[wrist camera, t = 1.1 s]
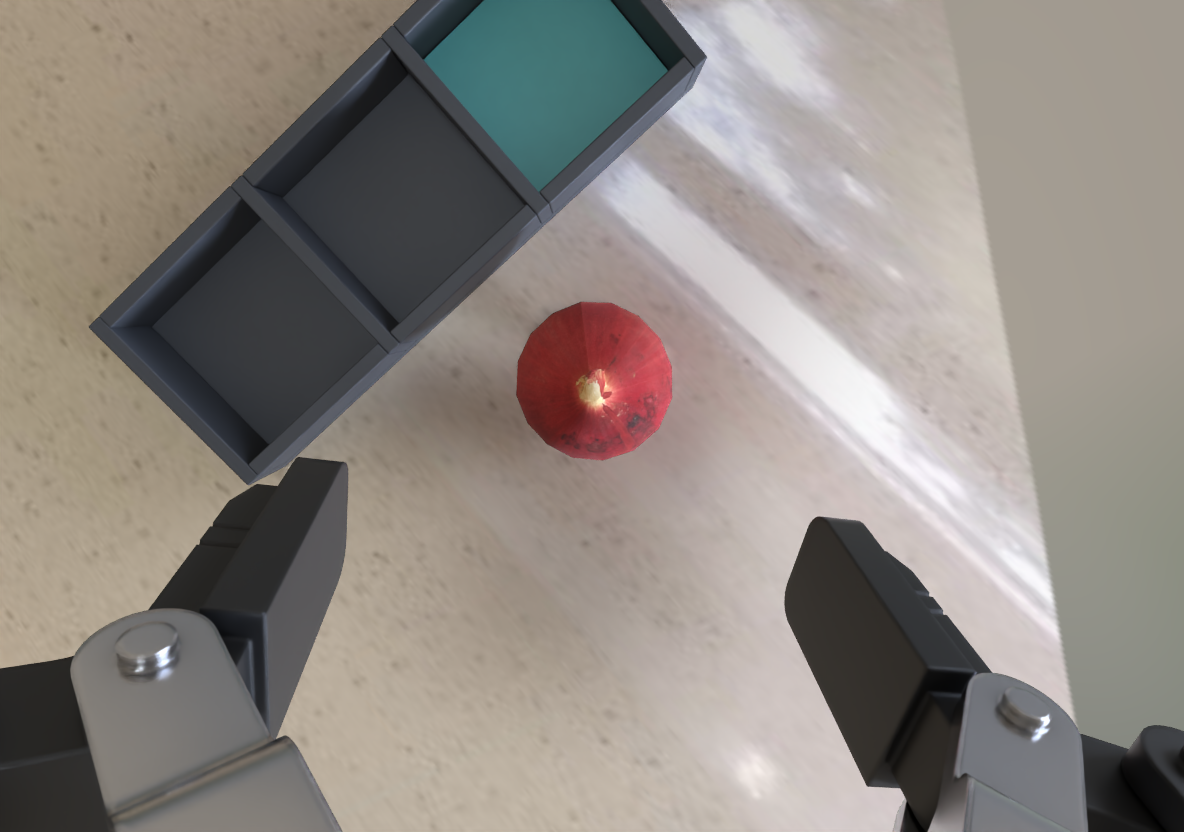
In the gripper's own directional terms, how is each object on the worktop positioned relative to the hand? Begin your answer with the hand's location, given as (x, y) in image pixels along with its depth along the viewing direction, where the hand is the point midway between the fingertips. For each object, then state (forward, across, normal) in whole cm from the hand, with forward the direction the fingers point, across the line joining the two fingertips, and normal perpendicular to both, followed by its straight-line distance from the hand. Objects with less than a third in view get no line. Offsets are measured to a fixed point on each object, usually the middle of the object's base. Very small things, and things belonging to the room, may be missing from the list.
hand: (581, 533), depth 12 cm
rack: (+20, +6, -2) cm, 21 cm away
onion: (+18, -2, +4) cm, 18 cm away
